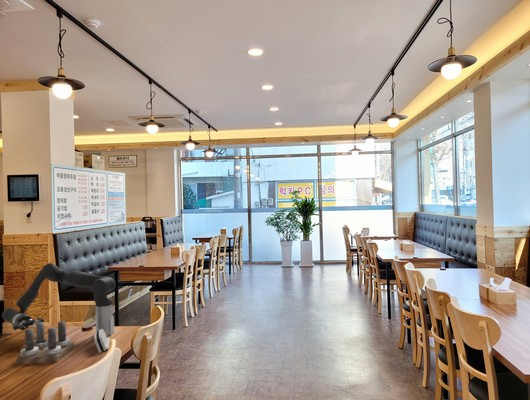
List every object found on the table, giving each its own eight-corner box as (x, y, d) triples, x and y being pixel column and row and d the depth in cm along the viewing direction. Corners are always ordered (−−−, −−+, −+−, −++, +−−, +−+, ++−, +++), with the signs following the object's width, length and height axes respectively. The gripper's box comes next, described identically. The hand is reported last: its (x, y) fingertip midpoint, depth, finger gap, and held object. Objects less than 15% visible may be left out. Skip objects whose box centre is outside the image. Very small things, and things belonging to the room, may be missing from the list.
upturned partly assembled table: (73, 347, 204) (73, 319, 204) (57, 362, 185) (57, 331, 185) (36, 349, 202) (36, 321, 203) (16, 364, 184) (15, 333, 184)
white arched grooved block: (109, 351, 198) (102, 333, 197) (100, 355, 196) (92, 338, 195) (111, 340, 213) (104, 324, 213) (102, 344, 212) (95, 328, 211)
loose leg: (45, 344, 201) (45, 322, 201) (42, 347, 197) (42, 324, 197) (38, 345, 200) (38, 322, 201) (35, 347, 197) (34, 324, 197)
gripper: (7, 317, 211) (17, 322, 200) (35, 311, 222) (47, 316, 211) (7, 330, 210) (17, 336, 200) (36, 324, 221) (47, 329, 211)
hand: (32, 326), depth 206 cm, fingers open, 8 cm apart
